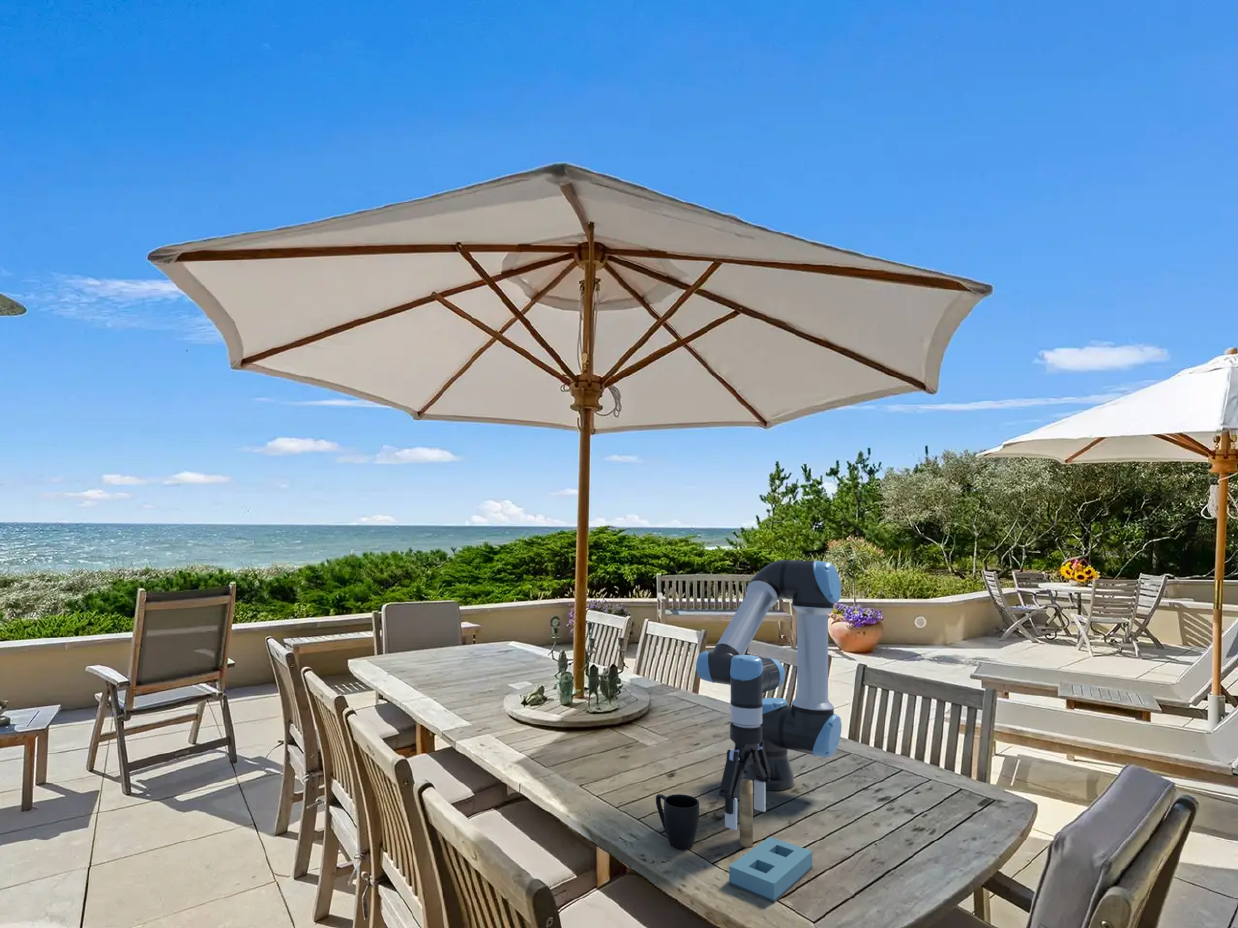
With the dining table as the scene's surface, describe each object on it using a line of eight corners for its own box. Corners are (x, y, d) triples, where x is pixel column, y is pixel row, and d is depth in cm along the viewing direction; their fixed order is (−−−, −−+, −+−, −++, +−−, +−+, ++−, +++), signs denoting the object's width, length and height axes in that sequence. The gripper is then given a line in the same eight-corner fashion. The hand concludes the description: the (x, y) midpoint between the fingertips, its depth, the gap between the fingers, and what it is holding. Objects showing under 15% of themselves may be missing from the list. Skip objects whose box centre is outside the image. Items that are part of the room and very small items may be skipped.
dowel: (743, 840, 150) (743, 777, 152) (755, 844, 148) (755, 780, 150) (737, 844, 148) (737, 780, 149) (748, 848, 146) (748, 784, 147)
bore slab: (769, 852, 144) (769, 836, 144) (812, 868, 137) (812, 850, 138) (729, 884, 130) (729, 865, 131) (774, 902, 124) (774, 883, 124)
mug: (670, 827, 156) (670, 786, 157) (706, 846, 146) (706, 802, 148) (645, 836, 150) (645, 793, 152) (681, 856, 141) (681, 811, 142)
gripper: (757, 711, 163) (756, 798, 160) (704, 730, 144) (703, 830, 141) (784, 716, 158) (784, 807, 155) (733, 737, 139) (732, 841, 136)
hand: (745, 818), depth 148 cm, fingers open, 13 cm apart
